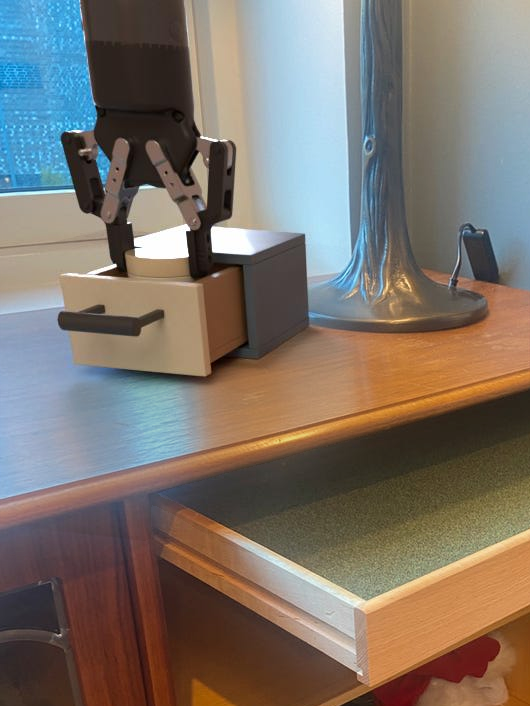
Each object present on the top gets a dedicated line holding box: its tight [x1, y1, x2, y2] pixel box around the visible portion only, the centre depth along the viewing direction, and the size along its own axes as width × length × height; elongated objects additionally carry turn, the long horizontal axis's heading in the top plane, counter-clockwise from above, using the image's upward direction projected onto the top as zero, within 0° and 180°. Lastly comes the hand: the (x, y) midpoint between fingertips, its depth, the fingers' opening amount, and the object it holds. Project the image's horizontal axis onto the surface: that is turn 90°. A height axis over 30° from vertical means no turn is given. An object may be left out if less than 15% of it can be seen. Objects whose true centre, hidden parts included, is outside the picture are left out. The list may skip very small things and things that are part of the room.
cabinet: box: [134, 224, 310, 360], centre depth 92 cm, size 15×13×9 cm
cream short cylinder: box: [125, 247, 200, 283], centre depth 80 cm, size 6×6×2 cm
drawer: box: [57, 263, 248, 377], centre depth 80 cm, size 19×12×7 cm, turn 171°
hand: (163, 273), depth 81 cm, fingers closed on cream short cylinder, 6 cm apart
